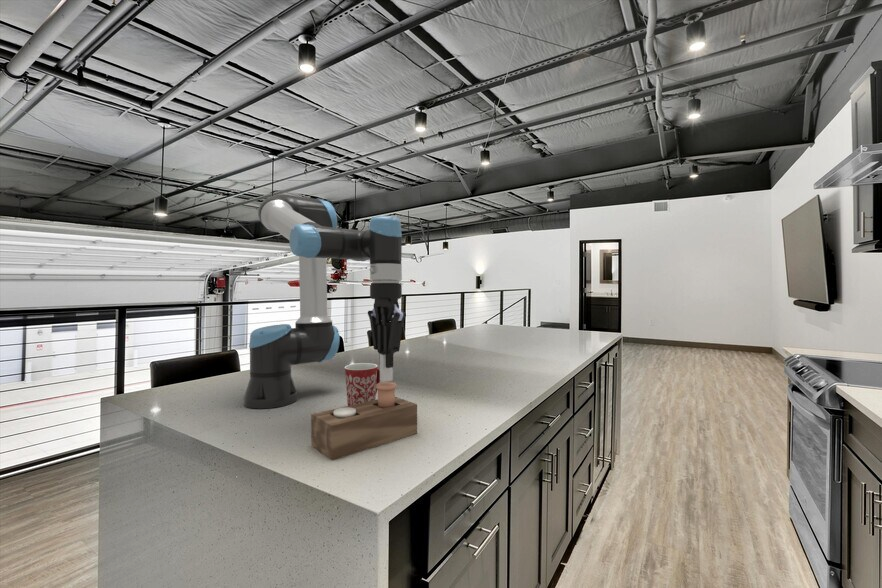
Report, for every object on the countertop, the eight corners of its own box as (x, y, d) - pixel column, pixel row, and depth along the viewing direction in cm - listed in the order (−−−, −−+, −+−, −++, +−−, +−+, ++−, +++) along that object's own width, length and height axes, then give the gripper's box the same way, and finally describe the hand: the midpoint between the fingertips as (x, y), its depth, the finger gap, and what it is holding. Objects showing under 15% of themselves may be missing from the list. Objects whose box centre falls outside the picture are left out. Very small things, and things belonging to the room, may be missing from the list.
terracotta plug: (372, 411, 94) (372, 384, 94) (389, 407, 97) (388, 381, 97) (383, 416, 90) (383, 388, 90) (400, 412, 94) (400, 384, 94)
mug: (363, 422, 102) (363, 370, 102) (337, 416, 106) (337, 367, 106) (392, 409, 113) (391, 362, 113) (367, 404, 117) (367, 359, 117)
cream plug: (329, 440, 87) (329, 410, 87) (349, 434, 90) (349, 406, 90) (340, 446, 83) (339, 415, 83) (360, 440, 86) (359, 410, 86)
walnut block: (311, 445, 87) (311, 414, 86) (393, 422, 101) (393, 395, 101) (332, 460, 79) (332, 425, 79) (417, 433, 94) (417, 404, 94)
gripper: (358, 282, 96) (358, 378, 96) (388, 281, 86) (388, 388, 86) (383, 282, 101) (384, 374, 101) (415, 282, 91) (415, 382, 91)
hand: (386, 380), depth 94 cm, fingers closed
